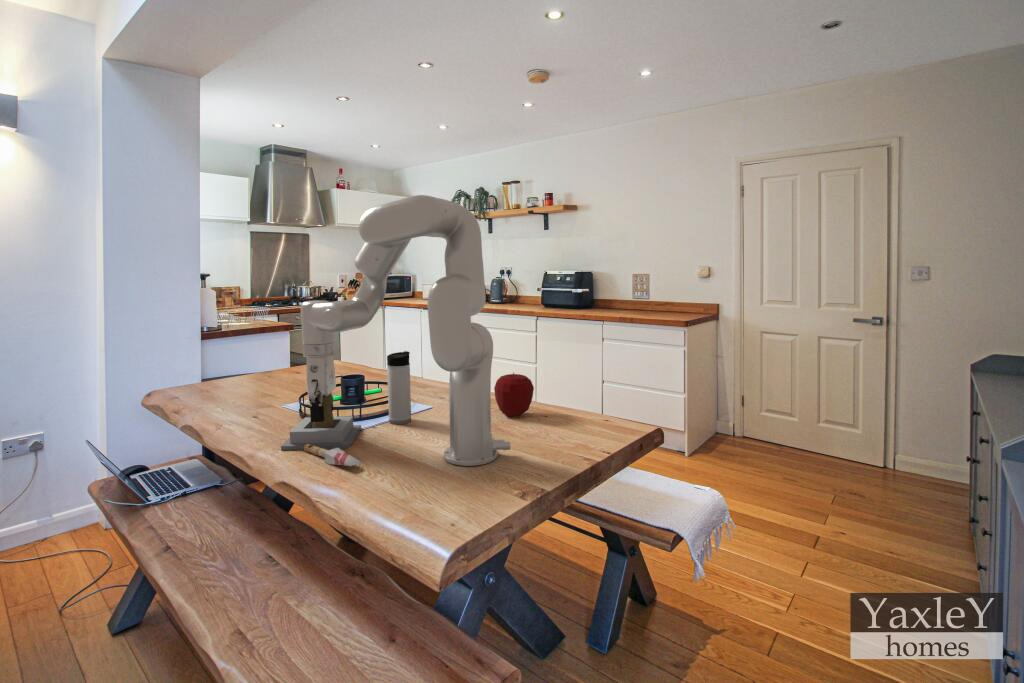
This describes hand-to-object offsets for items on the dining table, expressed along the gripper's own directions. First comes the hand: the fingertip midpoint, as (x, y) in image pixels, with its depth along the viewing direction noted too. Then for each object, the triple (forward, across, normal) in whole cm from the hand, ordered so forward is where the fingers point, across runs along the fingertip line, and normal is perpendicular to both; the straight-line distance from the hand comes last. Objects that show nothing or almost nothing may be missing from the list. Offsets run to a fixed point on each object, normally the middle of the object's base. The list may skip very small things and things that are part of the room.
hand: (322, 416), depth 138 cm
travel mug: (+6, +14, -18) cm, 24 cm away
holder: (+6, 0, 0) cm, 6 cm away
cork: (+5, 0, 0) cm, 5 cm away
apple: (+6, +17, -51) cm, 54 cm away
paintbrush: (+6, -16, -6) cm, 18 cm away
